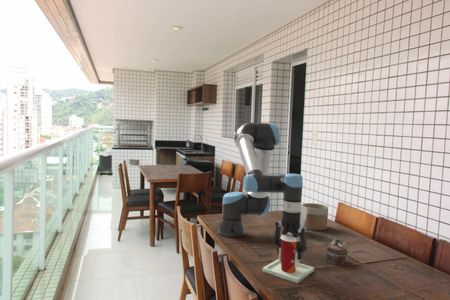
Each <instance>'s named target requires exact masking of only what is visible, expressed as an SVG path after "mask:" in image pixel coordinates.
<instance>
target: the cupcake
mask: <svg viewBox="0 0 450 300" xmlns="http://www.w3.org/2000/svg"><path fill="white" fill-rule="evenodd" d="M347 255H348V250H347V246H346V242H345V241H344V240H340V239H337V238H336V239H333V240H332V242H330V243H329V244H328V245H327V248H325V256H326V261H327V263H329V264H332V265H337V266H340V265H341V266H342V265H344V264H345V262H346V258H347Z"/></svg>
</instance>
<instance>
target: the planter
mask: <svg viewBox="0 0 450 300" xmlns="http://www.w3.org/2000/svg"><path fill="white" fill-rule="evenodd" d="M301 204H302V203H301ZM302 205H303V206H304V207H305V208H306V209H307V216H306V220H305V223H304V226H303V227H306V228H307V230H309V231H316V232H317V231H324V230H327V228H328V221H329V219H328V217H329V206H327V205H325V204H322V203H321V204H320V203H314V202H313V203H312V202H309V203H305V202H304V203H303V204H302Z"/></svg>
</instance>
